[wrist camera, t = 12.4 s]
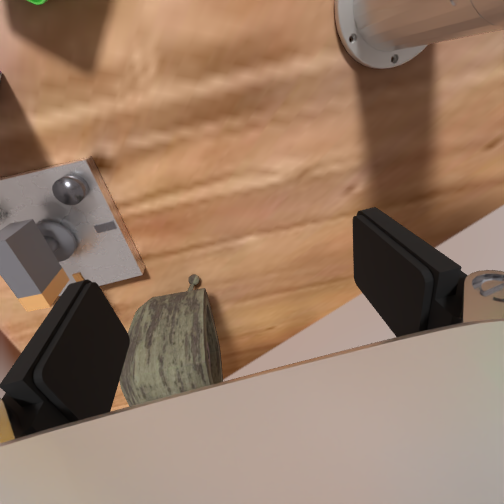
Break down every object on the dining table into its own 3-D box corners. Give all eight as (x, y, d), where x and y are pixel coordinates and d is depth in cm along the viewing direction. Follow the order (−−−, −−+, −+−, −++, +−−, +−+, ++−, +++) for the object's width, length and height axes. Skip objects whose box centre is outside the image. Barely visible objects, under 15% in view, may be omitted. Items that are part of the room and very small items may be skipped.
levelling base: (-45, 189, 33) (-74, 200, 30) (91, 156, 33) (78, 163, 30) (36, 294, 41) (21, 313, 38) (145, 267, 42) (139, 283, 38)
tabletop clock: (219, 332, 50) (231, 516, 29) (167, 342, 49) (140, 538, 28) (203, 264, 43) (202, 441, 21) (142, 274, 42) (78, 468, 21)
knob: (58, 206, 33) (20, 237, 26) (89, 264, 38) (63, 304, 31) (12, 215, 33) (-38, 248, 26) (49, 272, 37) (13, 314, 30)
